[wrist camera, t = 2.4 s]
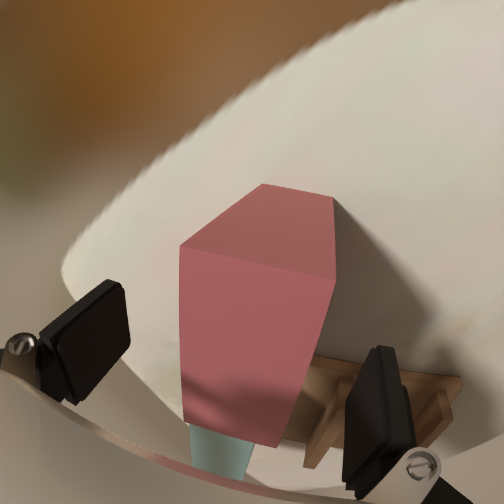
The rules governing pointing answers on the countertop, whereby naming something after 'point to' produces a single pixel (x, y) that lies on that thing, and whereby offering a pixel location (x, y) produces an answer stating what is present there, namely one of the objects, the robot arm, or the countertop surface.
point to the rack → (328, 417)
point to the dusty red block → (254, 310)
